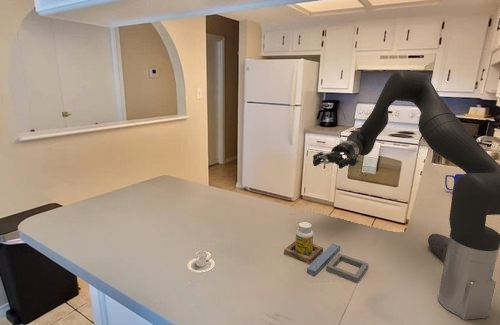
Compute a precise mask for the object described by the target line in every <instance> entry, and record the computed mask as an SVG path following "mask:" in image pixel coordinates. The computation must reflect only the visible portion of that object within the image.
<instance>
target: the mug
mask: <svg viewBox="0 0 500 325" xmlns="http://www.w3.org/2000/svg"><path fill="white" fill-rule="evenodd" d="M464 174H465V173H456V174H454V175H451V174H446V175H445V178H444V180H445V181H444V182H445V188H446V190H448V191H453V189H454V185H455V183H456V181H457V179H458V178H459V177H460V176H462V175H464ZM449 177H450V178H453V186H452V187H453V188H449V187H448V184H447V183H448V182H447V181H448V180H447V179H448V178H449Z"/></svg>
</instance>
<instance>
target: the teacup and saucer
mask: <svg viewBox="0 0 500 325" xmlns="http://www.w3.org/2000/svg"><path fill="white" fill-rule="evenodd" d="M211 257H212V254H211V253H210V252H209V251H204V250H198V251H196V253H195V258H192V259H191V260H189V261H188V262H187V264H186V267H187V269H188V271H190V272H192V273H196V274H198V273H200V274H201V273H202V274H203V273H207V272H209V271H211V270H212V269H214V268H215V265H216V263H215V261H214V259H212V258H211ZM207 261H209V262H210V266H209V267H208V268H206V269H203V270H196V269H194V268H192V264H193V263H194V262H195V264H196V266H197V267H199V268H204V267H205V266H206V264H207Z"/></svg>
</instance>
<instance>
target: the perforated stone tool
mask: <svg viewBox="0 0 500 325" xmlns="http://www.w3.org/2000/svg"><path fill="white" fill-rule="evenodd" d="M427 242H428V246H429V248H430V250H431V251H432V252H433V253H434V254H436V256H437V257H439V258H440V259H441V260H442V261H444V262H445V257H446V252H447V247H448V242H449V237H448V236H446V235H443V234H439V233H431V234H429V236H428V238H427Z"/></svg>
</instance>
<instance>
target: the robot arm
mask: <svg viewBox="0 0 500 325" xmlns="http://www.w3.org/2000/svg"><path fill="white" fill-rule="evenodd" d="M395 101H399V102H406V103H407V102H408V103H412V104H414V105H415V106H416V108H418V109H419V111H420V115H419V120H418V126H417V127H418V131H419V133H420V135H421V136H422V138H423V140H424V141H425V142H426V144H427V146H428V147H429V148H430V149H431V150H432V151H433V152H435V153H436V154H438V155H439V156H440V157H441V158H443V159H444V160H447V161H448V162H450V163H451V164H454V165H455V166H456V167H458V168H460V169H461V170H462V171H463V172H464V173H463V174H464V175H462V176H460V177H459V178H458V179H457V181H456V183H455V185H454V184H453V186H454V189H453V188H452V189H453V190H452V195H451V204H450V209H449V210H450V211H449V219H448V220H449V228H450V231H449V232H450V234H449V237H448V238H449V242H448V247H447V252H446V257H445V261H444V263H443V267H442V274H441V279H440V284H439V290H438V294H437V295H438V296H437V301H438V302H439V303H440V305H441V306H442V307H443V308H444V309H445V310H447V311H448V312H450V313H452V314H455V315H456V316H458V317H460V318H461V319H462V320H474V319H487V318H488V316H489V312H490V309H491V304H492V300H493V297H494V291H495V288H496V284H497V282H496V281H495V280H494V279H493V276H494V271H495V268H496V263H497V259H498V254H499V250H500V233H499V232H498V231H497V230H495V229H493V228H492V227H490V226H487V225H486V224H487V216H488V215H489V216H500V164H499V162H498V161H496V159H494V158H493V157H492V156H491V155H490V154H489V153H488V152H487V151H486V150H485V149H484V148H483V147H482V145H481V144H480V142H478V141H477V140H476V138H474V136H473V135H472V134H471V132H469V130H468V129H467V128H466V126H465V125H464V123H462V121H461V120H460V119H459V117H458V116H456V114H455V113H454V112H453V111H452V110H451V109H450V108H449V106H448V105H447V104H446V102H445V101H444V100H443V98H442V97H441V96H440V94H439V93H438V92H437V90H436V89H435V85H433V83H432V81H431V80H430V78H429V77H428V76H427V74H425V73H422V72H421V71H414V70H413V71H412V70H401V69H400V70H397V71H396V70H395V71H394V72H393V73H392V74H390V76H389V78H388V79H387V81H386V83H385V84H384V86H383V88H382V90H381V93H380V94H379V96H378V99H377V100H376V103H375V105H374V107H373V109H372V110H371V112H370V114H369V115H368V117H367V118H366V119H365V121H364V122H363V124H361V127H360V128H359V130H354V131H352V132H351V133H350V134H349V135H348V136H347V138H346V140H344V141H342V142H340V143H338V144H337V145H335V146H334V147H332V148H331V151H330V152H326V153H324V152H323V151H320V152H317V153H315V154H313V156H312V159H313V160H312V165H313V166H314V167H318V166H320V164H325V165H327V164H335V165H337V166H338V169H343V168H345V167H349V165H350V167H355V166H356V165H357V164H358V163H359V161H360V160H359V157H360V156H363V157H364V156H368V155H369V154H370V153H371V152H372V151H373V149H374V147H375V145H376V144H375V143H376V141H377V138H378V136H379V135H380V134H382V132H383V131H384V130H385V129H386V127H387V125H388V122H389V108H390V106H391V105H393V103H394V102H395ZM359 155H360V156H359Z"/></svg>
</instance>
